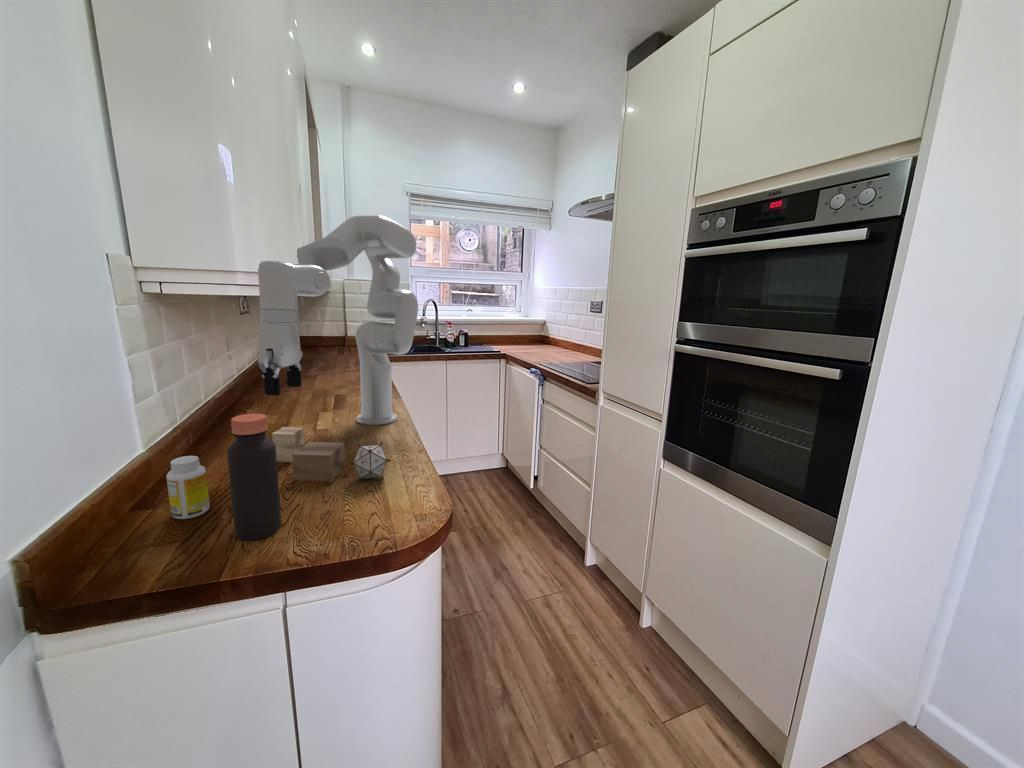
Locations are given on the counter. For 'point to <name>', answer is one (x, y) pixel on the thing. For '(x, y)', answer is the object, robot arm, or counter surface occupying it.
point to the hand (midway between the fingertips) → (284, 390)
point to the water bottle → (253, 478)
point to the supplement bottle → (187, 488)
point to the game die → (370, 461)
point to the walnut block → (318, 461)
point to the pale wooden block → (287, 442)
